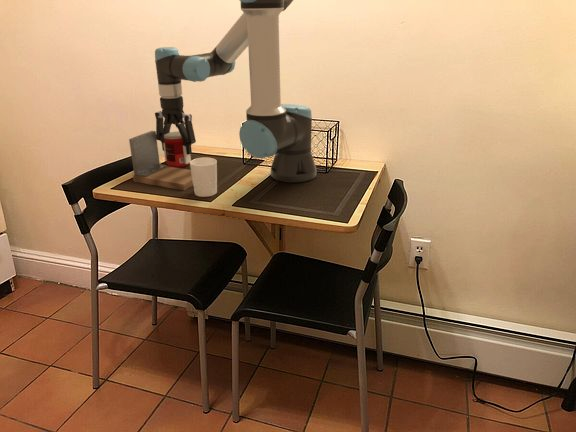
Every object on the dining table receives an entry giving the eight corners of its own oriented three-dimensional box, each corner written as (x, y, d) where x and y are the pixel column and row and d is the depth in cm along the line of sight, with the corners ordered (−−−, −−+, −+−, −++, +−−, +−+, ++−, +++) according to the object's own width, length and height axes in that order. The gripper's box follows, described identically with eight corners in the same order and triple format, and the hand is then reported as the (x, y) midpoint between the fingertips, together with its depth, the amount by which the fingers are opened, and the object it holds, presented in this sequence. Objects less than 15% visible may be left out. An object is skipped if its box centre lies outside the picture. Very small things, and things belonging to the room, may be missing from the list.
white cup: (198, 199, 146) (195, 167, 142) (188, 191, 152) (185, 160, 148) (223, 194, 150) (221, 162, 145) (212, 186, 156) (210, 155, 152)
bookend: (167, 166, 167) (163, 132, 162) (145, 177, 158) (140, 140, 153) (156, 165, 169) (151, 130, 164) (134, 175, 160) (129, 139, 155)
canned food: (192, 161, 179) (189, 131, 174) (185, 168, 172) (182, 137, 167) (171, 160, 180) (168, 131, 175) (164, 168, 172) (160, 137, 168)
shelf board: (206, 178, 162) (205, 172, 162) (184, 190, 153) (184, 184, 152) (157, 170, 170) (156, 164, 169) (133, 181, 160) (132, 175, 160)
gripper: (203, 96, 165) (208, 161, 174) (153, 92, 173) (161, 155, 182) (190, 100, 159) (196, 168, 168) (139, 95, 167) (148, 160, 176)
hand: (178, 161), depth 175 cm, fingers closed on canned food, 8 cm apart
